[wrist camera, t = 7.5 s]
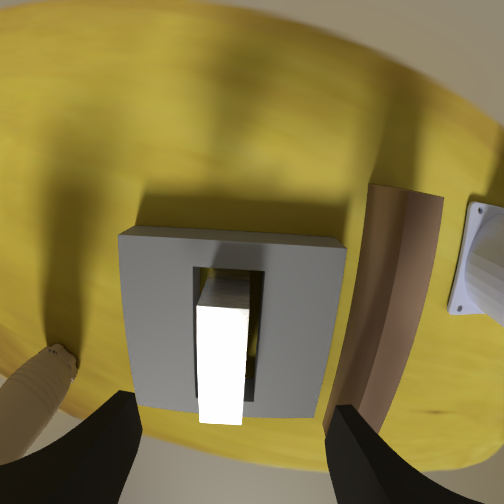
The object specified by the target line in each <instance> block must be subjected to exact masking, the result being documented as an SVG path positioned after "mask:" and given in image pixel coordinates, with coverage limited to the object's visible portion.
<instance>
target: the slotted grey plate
mask: <svg viewBox="0 0 504 504" xmlns="http://www.w3.org/2000/svg"><path fill="white" fill-rule="evenodd" d="M118 249H119V267H120V281H121V293H122V304H123V313H124V322H125V331H126V338H127V346H128V353H129V359H130V366H131V372H132V378H133V383H134V389H135V394H136V399H137V404H138V405H142V406H148V407H154V408H161V409H168V410H175V411H183V412H191V413H200V410H199V387H198V354H197V304H198V301H199V299H200V267H209V268H224V269H240V270H257V271H262V283H261V296H260V308H259V321H258V333H257V345H256V356H255V368H254V378H245V381H244V396H243V410H242V417H261V418H314V414H315V410H316V406H317V402H318V398H319V394H320V390H321V386H322V381H323V377H324V373H325V368H326V364H327V359H328V354H329V350H330V345H331V340H332V335H333V330H334V325H335V319H336V314H337V309H338V303H339V297H340V291H341V285H342V279H343V273H344V266H345V259H346V252H347V248H346V247H345V246H344V245H342V244H341V243H340V242H339V241H338V240H337V239H336V238H335V237H321V236H307V235H293V234H278V233H262V232H246V231H230V230H212V229H194V228H175V227H154V226H133V227H131V228H129V229H127V230H126V231H124V232H122V233H120V234H119V235H118Z"/></svg>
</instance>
